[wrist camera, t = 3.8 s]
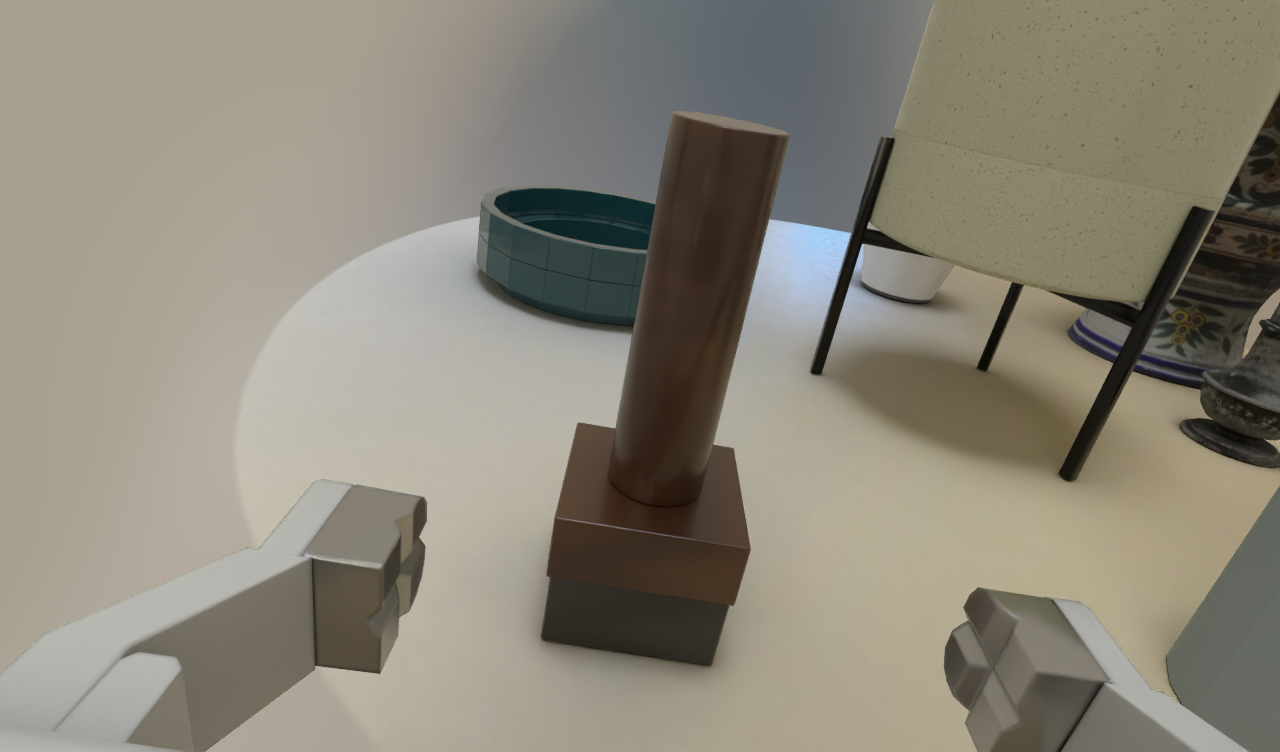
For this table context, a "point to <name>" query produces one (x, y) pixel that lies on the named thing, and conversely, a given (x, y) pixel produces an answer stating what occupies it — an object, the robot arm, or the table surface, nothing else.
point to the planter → (1071, 154)
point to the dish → (567, 249)
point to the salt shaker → (1244, 403)
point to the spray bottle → (1237, 643)
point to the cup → (902, 273)
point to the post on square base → (670, 417)
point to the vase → (1212, 280)
